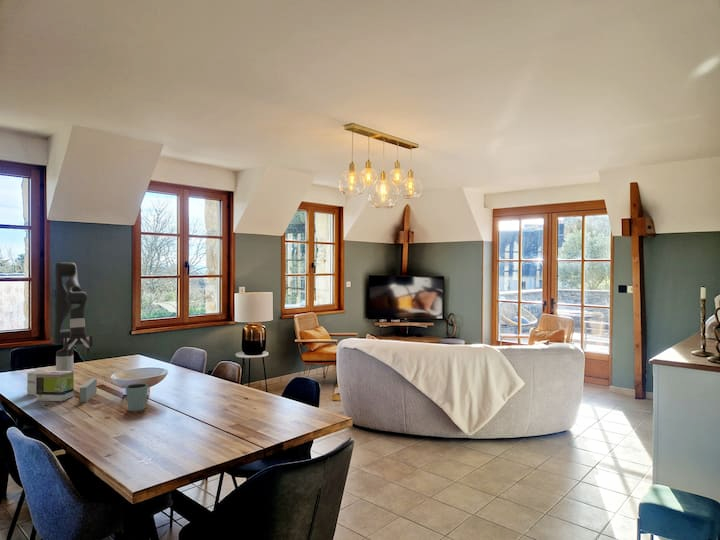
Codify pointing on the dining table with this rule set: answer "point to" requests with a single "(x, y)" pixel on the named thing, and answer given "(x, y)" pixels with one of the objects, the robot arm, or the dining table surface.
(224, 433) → the dining table surface
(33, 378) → the supplement box
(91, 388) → the stop board
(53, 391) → the tea box
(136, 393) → the grey green open cylinder
